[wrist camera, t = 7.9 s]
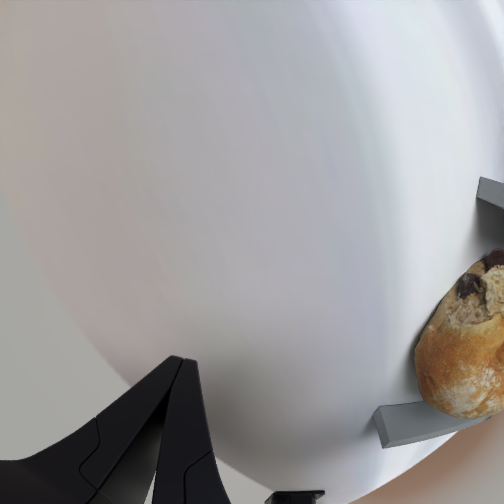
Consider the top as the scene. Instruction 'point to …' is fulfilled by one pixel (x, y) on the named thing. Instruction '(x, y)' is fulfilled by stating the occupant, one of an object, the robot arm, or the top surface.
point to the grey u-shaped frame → (420, 413)
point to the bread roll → (466, 345)
